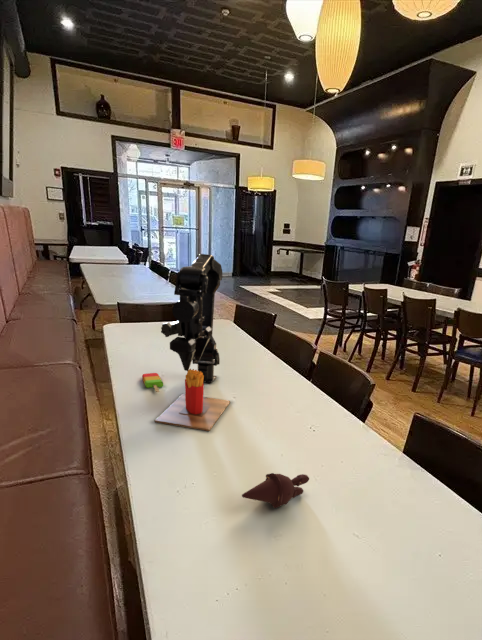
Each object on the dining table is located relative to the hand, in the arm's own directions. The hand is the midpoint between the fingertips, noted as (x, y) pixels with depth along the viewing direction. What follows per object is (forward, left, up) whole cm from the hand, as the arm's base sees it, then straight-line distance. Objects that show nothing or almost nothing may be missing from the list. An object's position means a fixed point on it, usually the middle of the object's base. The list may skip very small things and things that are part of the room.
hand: (192, 365), depth 123 cm
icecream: (+40, +34, -13) cm, 54 cm away
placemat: (+5, +3, -13) cm, 14 cm away
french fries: (+5, +3, -12) cm, 13 cm away
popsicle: (-9, -17, -13) cm, 23 cm away
